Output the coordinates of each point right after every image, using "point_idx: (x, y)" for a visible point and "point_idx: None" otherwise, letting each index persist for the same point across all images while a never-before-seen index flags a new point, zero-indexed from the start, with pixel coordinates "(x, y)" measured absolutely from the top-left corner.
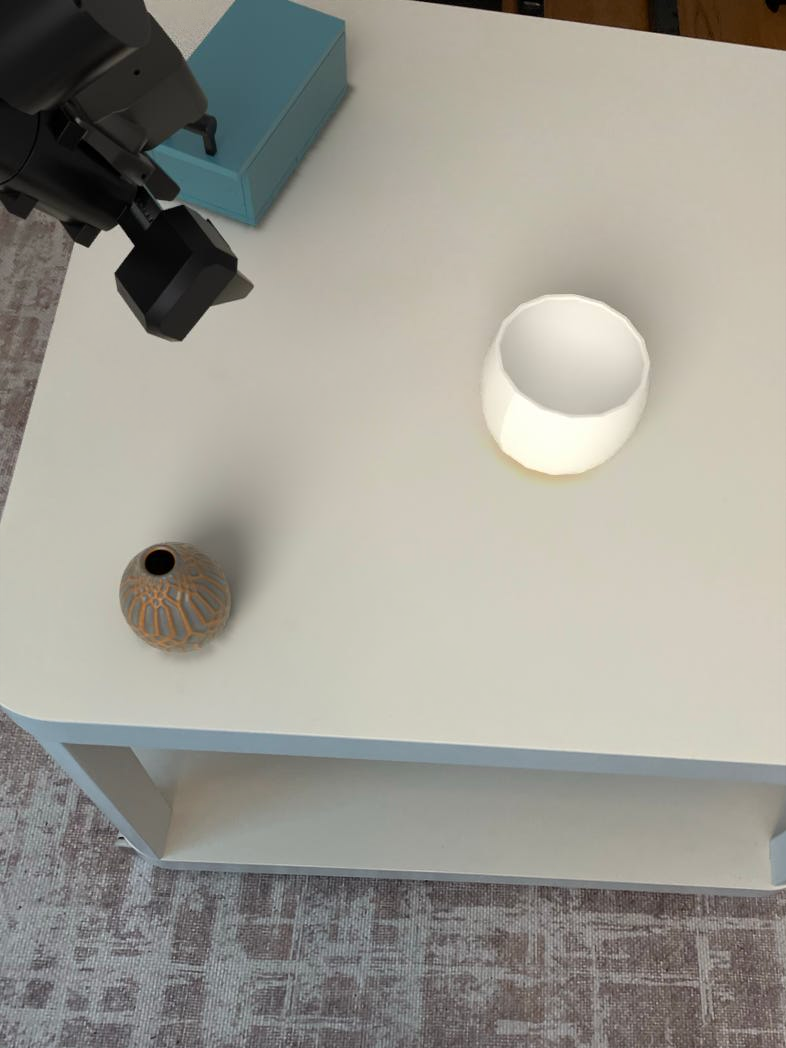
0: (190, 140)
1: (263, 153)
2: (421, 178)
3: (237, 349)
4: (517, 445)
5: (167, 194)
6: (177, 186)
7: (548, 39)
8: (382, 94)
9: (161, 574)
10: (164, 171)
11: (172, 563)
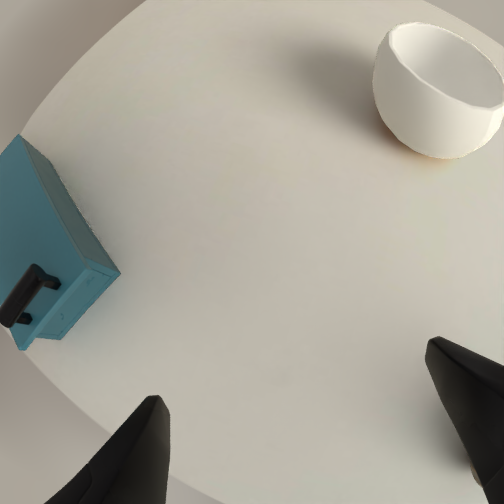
0: (39, 298)
1: (73, 233)
2: (138, 126)
3: (256, 348)
4: (483, 143)
5: (165, 423)
6: (156, 402)
7: (92, 50)
8: (64, 139)
9: (471, 464)
10: (131, 422)
11: None
